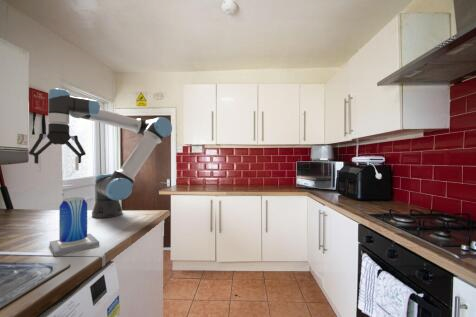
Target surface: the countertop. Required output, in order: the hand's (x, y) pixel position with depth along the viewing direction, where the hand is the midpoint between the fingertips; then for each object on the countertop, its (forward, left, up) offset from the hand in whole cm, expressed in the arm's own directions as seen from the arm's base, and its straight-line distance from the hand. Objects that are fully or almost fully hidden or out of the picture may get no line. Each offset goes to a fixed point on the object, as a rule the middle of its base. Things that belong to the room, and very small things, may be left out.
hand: (58, 170), depth 104 cm
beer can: (-1, +28, -25) cm, 38 cm away
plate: (-1, +28, -27) cm, 39 cm away
